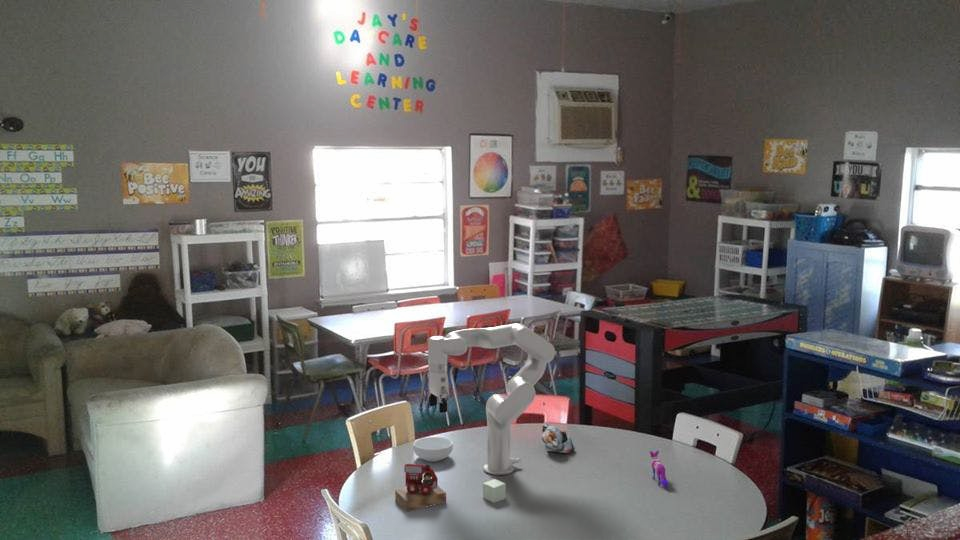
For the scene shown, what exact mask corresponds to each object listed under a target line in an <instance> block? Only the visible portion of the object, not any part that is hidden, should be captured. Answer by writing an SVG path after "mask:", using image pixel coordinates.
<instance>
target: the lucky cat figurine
mask: <svg viewBox="0 0 960 540" xmlns="http://www.w3.org/2000/svg"><path fill="white" fill-rule="evenodd" d="M541 429H542V431H541V432H542V433H541V440H542V443H544V447H545V449H546V452H557V453H562V454H566V455H570V454H571V453H573V451H575V450H576V447H575V444H573V441H572V438H571V436H570V435H569V434H568V433H567V431H566V430H560V429H559V428H558V427H557V426H555V425H549V424H548V423H545V424H544V425H542V428H541Z"/></svg>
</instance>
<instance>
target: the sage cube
mask: <svg viewBox="0 0 960 540" xmlns="http://www.w3.org/2000/svg"><path fill="white" fill-rule="evenodd" d="M506 485H507V484H506V483H505V482H503V481H500V480H498V479H496V478H493V479H491V480H488V481H486V482H483V483H482V498H483V499H484V500H486V501H489V502H491V503H494V504H495V503H497V502H500V501H503V500H506V497H507V495H506V487H507V486H506Z"/></svg>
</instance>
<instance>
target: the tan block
mask: <svg viewBox="0 0 960 540" xmlns="http://www.w3.org/2000/svg"><path fill="white" fill-rule="evenodd" d="M394 492H395V493H394V499H395V501H396V502H397V503H398V505H399V506H401V507H402V509H403V510H404V509H405V510H406V511H405V510H404V511H405V512H410V511H409V510H411V511H415V510H414V509H416V510H418V509H417V508H420V509H423V508H422V507H425V508H427V507H426V506H430V505H434V504H435V505H434V506H437V505H436V504H439V505H441V504H440V503H443V504H445V503H444V502H446V503H447V492H446V491H445V490H444V489H443V488H441V486H440V485H437V488H436V489H431V492H430V494H428V495H424V494H422V493H421V491H420V488H418V491H417V492H416V493H415V494H410V493H408V491H407V487H404V488H397V489H395V491H394ZM430 507H431V506H430Z"/></svg>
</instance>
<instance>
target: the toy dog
mask: <svg viewBox="0 0 960 540" xmlns="http://www.w3.org/2000/svg"><path fill="white" fill-rule="evenodd" d="M659 452H660V451H659V450H657V451H655V452H653V451H651V450H650V451H649V453H650V458H651V468H652V473H653V476H652V479H653V480H655V478H656V476H657V478H658V483H657V485H658V486H660V485H661V484H662V486H663V487H665V488H667V487H668V486H669V484H668V479H667V477H666V467H665V466H664V465H663V464H662V462H661V461H660V459H659V457H658V455H659Z"/></svg>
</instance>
